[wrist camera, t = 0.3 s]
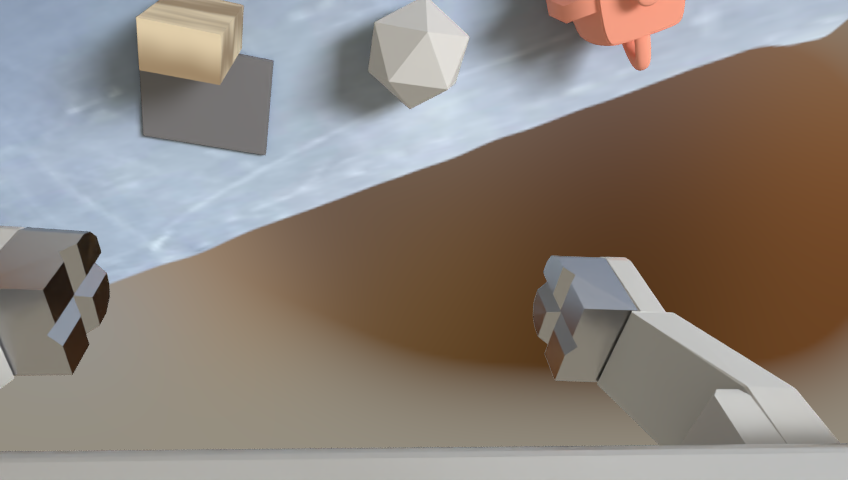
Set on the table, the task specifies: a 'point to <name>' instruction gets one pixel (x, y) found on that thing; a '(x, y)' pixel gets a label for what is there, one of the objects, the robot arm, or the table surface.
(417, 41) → the die
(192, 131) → the rubber mat
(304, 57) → the table surface
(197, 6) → the maple block
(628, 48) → the teapot
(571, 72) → the table surface
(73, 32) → the table surface
